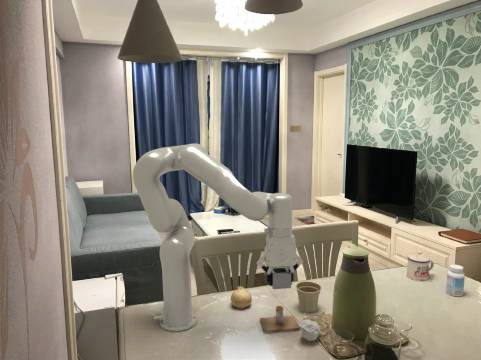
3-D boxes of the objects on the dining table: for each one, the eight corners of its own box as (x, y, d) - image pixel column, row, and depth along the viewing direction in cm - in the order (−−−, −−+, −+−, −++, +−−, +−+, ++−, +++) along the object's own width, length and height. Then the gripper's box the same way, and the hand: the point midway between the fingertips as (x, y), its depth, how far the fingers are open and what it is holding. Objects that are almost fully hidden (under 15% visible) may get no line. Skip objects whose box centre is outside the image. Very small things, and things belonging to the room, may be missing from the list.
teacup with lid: (414, 282, 167) (416, 256, 165) (401, 273, 176) (403, 248, 174) (439, 279, 169) (441, 253, 167) (425, 271, 178) (427, 246, 176)
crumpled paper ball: (294, 339, 125) (295, 319, 124) (309, 332, 129) (310, 312, 128) (309, 348, 120) (309, 327, 119) (324, 340, 125) (324, 320, 123)
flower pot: (320, 316, 139) (321, 293, 138) (294, 313, 141) (294, 291, 140) (321, 304, 148) (321, 282, 147) (295, 301, 150) (296, 280, 149)
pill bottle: (463, 292, 157) (466, 265, 155) (462, 298, 152) (465, 270, 150) (446, 288, 160) (448, 262, 158) (444, 294, 155) (447, 267, 153)
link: (272, 289, 128) (272, 274, 127) (269, 281, 133) (269, 267, 133) (291, 288, 128) (291, 273, 128) (286, 280, 134) (286, 266, 133)
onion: (255, 303, 149) (255, 285, 148) (245, 312, 142) (245, 294, 141) (237, 298, 153) (236, 281, 152) (226, 307, 146) (226, 289, 145)
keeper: (264, 333, 129) (264, 314, 128) (259, 320, 137) (259, 303, 136) (299, 330, 130) (300, 312, 129) (293, 318, 138) (293, 301, 137)
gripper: (255, 236, 123) (256, 290, 126) (309, 233, 125) (308, 286, 128) (252, 229, 131) (252, 280, 134) (302, 226, 133) (302, 277, 136)
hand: (279, 283), depth 131 cm, fingers closed on link, 6 cm apart
